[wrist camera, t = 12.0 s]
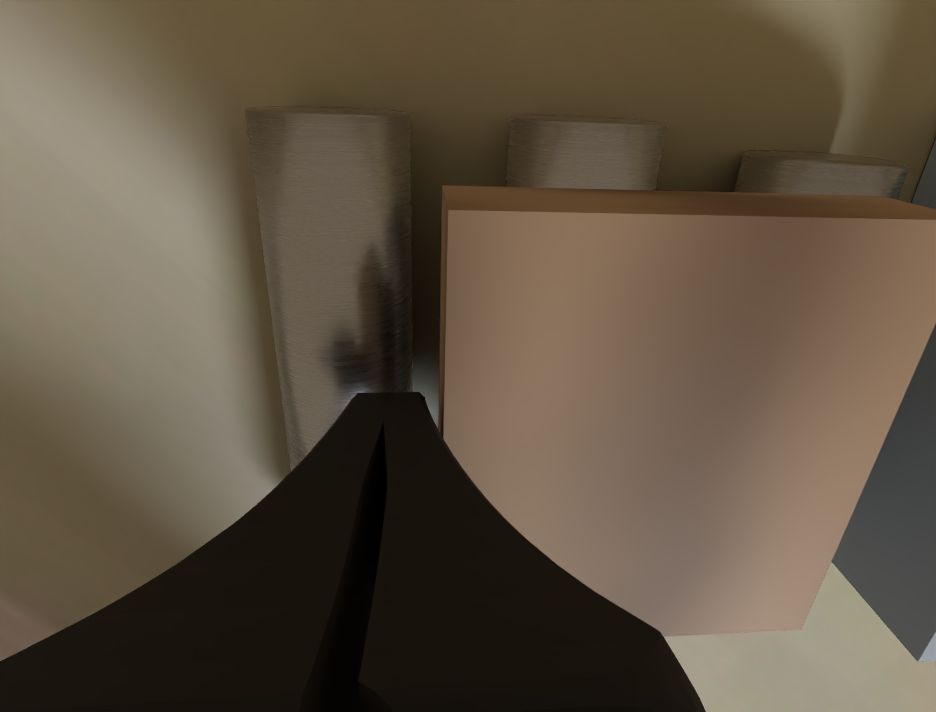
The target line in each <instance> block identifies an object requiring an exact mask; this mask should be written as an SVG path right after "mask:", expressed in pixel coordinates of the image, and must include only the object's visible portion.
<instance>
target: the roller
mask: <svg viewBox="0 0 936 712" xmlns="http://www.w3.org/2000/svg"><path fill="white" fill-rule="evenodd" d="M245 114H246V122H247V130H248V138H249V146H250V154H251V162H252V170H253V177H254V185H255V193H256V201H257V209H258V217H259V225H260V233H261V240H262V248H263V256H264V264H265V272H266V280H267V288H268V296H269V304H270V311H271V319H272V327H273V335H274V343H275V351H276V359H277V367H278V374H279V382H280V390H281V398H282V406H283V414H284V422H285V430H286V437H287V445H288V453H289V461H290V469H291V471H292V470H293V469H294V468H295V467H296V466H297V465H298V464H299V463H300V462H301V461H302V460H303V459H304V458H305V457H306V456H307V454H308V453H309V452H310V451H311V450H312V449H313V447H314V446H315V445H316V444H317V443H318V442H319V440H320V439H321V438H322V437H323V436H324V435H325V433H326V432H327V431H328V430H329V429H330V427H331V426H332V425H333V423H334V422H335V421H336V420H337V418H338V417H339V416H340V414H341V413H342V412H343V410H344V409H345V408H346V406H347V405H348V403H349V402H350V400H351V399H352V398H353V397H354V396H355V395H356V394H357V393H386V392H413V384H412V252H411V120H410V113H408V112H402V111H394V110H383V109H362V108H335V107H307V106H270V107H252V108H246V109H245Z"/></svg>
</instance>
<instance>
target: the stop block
mask: <svg viewBox="0 0 936 712" xmlns="http://www.w3.org/2000/svg"><path fill="white" fill-rule="evenodd" d="M912 204H916V205H920V206H924V207H928V208H932V209H936V140H935V142H934V145H933V148H932V150H931V153H930V155H929V158H928V161H927V163H926V166H925V169H924V171H923V174H922V177H921V179H920V182H919V185H918V187H917V190H916V192H915V195H914V198H913V200H912ZM832 563H833V564H834V565H835V566H836V567H837V568H838V570H839V571H840V572H841V573H842V574H843V575H844V577H845V578H846V579H847V580H848V581H849V582H850V584H851V585H852V586H853V587H854V588H855V589H856V591H857V592H858V593H859V594H860V595H861V596H862V598H863V599H864V600H865V601H866V602H867V603H868V604H869V606H870V607H871V608H872V609H873V610H874V611H875V613H876V614H877V615H878V616H879V617H880V618H881V620H882V621H883V622H884V623H885V624H886V625H887V627H888V628H889V629H890V630H891V631H892V632H893V634H894V635H895V636H896V637H897V638H898V639H899V641H900V642H901V643H902V644H903V645H904V646H905V648H906V649H907V650H908V651H909V652H910V653H911V655H912V656H913V657H914V658H915V659H916V660H917V662H925V661H936V324H935V326H934V328H933V331H932V333H931V335H930V337H929V340H928V342H927V344H926V347H925V349H924V351H923V353H922V356H921V358H920V360H919V363H918V365H917V367H916V369H915V372H914V374H913V376H912V379H911V381H910V383H909V385H908V388H907V390H906V392H905V395H904V397H903V399H902V401H901V404H900V406H899V408H898V411H897V413H896V415H895V417H894V420H893V422H892V424H891V427H890V429H889V431H888V433H887V436H886V438H885V440H884V443H883V445H882V447H881V449H880V452H879V454H878V456H877V459H876V461H875V463H874V465H873V468H872V470H871V472H870V475H869V477H868V479H867V481H866V484H865V486H864V488H863V491H862V493H861V495H860V497H859V500H858V502H857V504H856V507H855V509H854V511H853V513H852V516H851V518H850V520H849V522H848V525H847V527H846V529H845V532H844V534H843V536H842V538H841V541H840V543H839V545H838V548H837V550H836V552H835V554H834V557H833V559H832Z"/></svg>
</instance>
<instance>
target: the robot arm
mask: <svg viewBox="0 0 936 712" xmlns="http://www.w3.org/2000/svg"><path fill="white" fill-rule="evenodd" d="M0 712H706V711H705V709H704V707H703V705H702V702H701V700H700V698H699V696H698V694H697V692H696V691H695V689H694V687H693V685H692V684H691V682H690V680H689V678H688V677H687V675H686V673H685V672H684V670H683V668H682V667H681V665H680V663H679V662H678V660H677V658H676V657H675V655H674V653H673V652H672V650H671V648H670V647H669V645H668V643H667V642H666V640H665V639H664V637H663V635H662V634H661V632H660V631H659V630H657V629H656V628H654V627H652V626H651V625H649V624H647V623H646V622H644V621H642V620H641V619H639V618H637V617H636V616H634V615H633V614H631V613H629V612H628V611H626V610H624V609H623V608H621V607H619V606H618V605H616V604H614V603H613V602H611V601H609V600H608V599H606V598H605V597H603V596H601V595H600V594H598V593H596V592H595V591H593V590H592V589H591V588H589V587H588V586H586V585H585V584H583V583H582V582H581V581H579V580H578V579H576V578H575V577H574V576H572V575H571V574H570V573H568V572H567V571H565V570H564V569H563V568H561V567H560V566H558V565H557V564H556V563H555V562H554V561H552V560H551V559H550V558H549V557H548V556H546V555H545V554H544V553H543V552H542V551H540V550H539V549H538V548H537V547H536V546H534V545H533V544H532V543H531V542H530V541H529V540H527V539H526V538H525V537H524V536H523V535H522V534H521V533H520V532H519V531H518V530H517V529H516V528H514V527H513V526H512V525H511V524H510V523H509V522H508V521H507V520H506V519H505V518H504V517H503V516H502V515H501V514H500V512H499V511H498V510H497V509H496V508H495V507H494V506H493V505H492V504H491V503H490V502H489V501H488V499H487V498H486V497H485V496H484V495H483V494H482V492H481V491H480V490H479V489H478V488H477V486H476V485H475V484H474V483H473V481H472V480H471V479H470V477H469V476H468V475H467V473H466V472H465V471H464V469H463V468H462V467H461V465H460V464H459V462H458V461H457V459H456V458H455V457H454V455H453V453H452V452H451V450H450V449H449V447H448V445H447V444H446V442H445V441H444V439H443V437H442V436H441V434H440V432H439V430H438V429H437V427H436V425H435V423H434V421H433V419H432V417H431V414H430V412H429V410H428V407H427V404H426V401H425V397H424V396H423V395H422V394H421V393H420V392H386V393H357V394H356V395H355V396H354V397H353V398H352V399H351V400H350V402H349V403H348V405H347V406H346V408H345V409H344V410H343V412H342V413H341V414H340V416H339V417H338V418H337V420H336V421H335V422H334V423H333V425H332V426H331V427H330V429H329V430H328V431H327V432H326V433H325V435H324V436H323V437H322V438H321V439H320V440H319V442H318V443H317V444H316V445H315V446H314V447H313V449H312V450H311V451H310V452H309V453H308V454H307V456H306V457H305V458H304V459H303V460H302V461H301V462H300V463H299V464H298V465H297V466H296V467H295V468H294V469H293V470H292V471H291V472H290V473H289V474H288V475H287V476H286V477H285V478H284V479H283V480H282V481H281V482H280V483H279V484H278V485H277V486H276V487H275V488H274V489H273V490H272V491H271V492H270V493H269V494H268V495H267V496H266V497H265V498H264V499H262V500H261V501H260V502H259V503H258V504H257V505H256V506H254V507H253V508H252V509H251V510H250V511H249V512H247V513H246V514H245V515H244V516H243V517H241V518H240V519H239V520H238V521H236V522H235V523H234V524H233V525H231V526H230V527H228V528H227V529H226V530H224V531H223V532H221V533H220V534H219V535H217V536H216V537H214V538H213V539H212V540H210V541H209V542H207V543H206V544H205V545H203V546H202V547H200V548H199V549H198V550H196V551H195V552H193V553H192V554H191V555H189V556H188V557H186V558H185V559H184V560H182V561H181V562H179V563H178V564H176V565H175V566H173V567H171V568H170V569H168V570H167V571H165V572H163V573H162V574H160V575H159V576H157V577H155V578H154V579H152V580H151V581H149V582H148V583H146V584H144V585H142V586H141V587H139V588H137V589H136V590H134V591H132V592H131V593H129V594H127V595H125V596H124V597H122V598H120V599H119V600H117V601H115V602H114V603H112V604H110V605H108V606H106V607H105V608H103V609H101V610H99V611H97V612H96V613H94V614H92V615H90V616H88V617H86V618H85V619H83V620H81V621H79V622H77V623H75V624H73V625H71V626H69V627H67V628H65V629H63V630H61V631H59V632H57V633H55V634H53V635H51V636H49V637H48V638H46V639H44V640H42V641H40V642H38V643H36V644H34V645H32V646H30V647H28V648H26V649H24V650H22V651H20V652H18V653H16V654H14V655H12V656H10V657H8V658H6V659H4V660H2V661H0Z"/></svg>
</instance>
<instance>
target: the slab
mask: <svg viewBox="0 0 936 712" xmlns="http://www.w3.org/2000/svg"><path fill="white" fill-rule="evenodd" d="M935 324H936V209H932V208H928V207H924V206H920V205H916V204H912V203H908V202H904V201H900V200H896V199H892V198H888V197H884V196H864V195H823V194H781V193H740V192H699V191H658V190H616V189H575V188H534V187H492V186H451V185H442V235H441V297H440V358H439V420H438V430H439V432H440V434H441V436H442V437H443V439H444V441H445V442H446V444H447V445H448V447H449V449H450V450H451V452H452V453H453V455H454V457H455V458H456V459H457V461H458V462H459V464H460V465H461V467H462V468H463V469H464V471H465V472H466V473H467V475H468V476H469V477H470V479H471V480H472V481H473V483H474V484H475V485H476V486H477V488H478V489H479V490H480V491H481V492H482V494H483V495H484V496H485V497H486V498H487V499H488V501H489V502H490V503H491V504H492V505H493V506H494V507H495V508H496V509H497V510H498V511H499V512H500V514H501V515H502V516H503V517H504V518H505V519H506V520H507V521H508V522H509V523H510V524H511V525H512V526H513V527H514V528H516V529H517V530H518V531H519V532H520V533H521V534H522V535H523V536H524V537H525V538H526V539H527V540H529V541H530V542H531V543H532V544H533V545H534V546H536V547H537V548H538V549H539V550H540V551H542V552H543V553H544V554H545V555H546V556H548V557H549V558H550V559H551V560H552V561H554V562H555V563H556V564H557V565H558V566H560V567H561V568H563V569H564V570H565V571H567V572H568V573H570V574H571V575H572V576H574V577H575V578H576V579H578V580H579V581H581V582H582V583H583V584H585V585H586V586H588V587H589V588H591V589H592V590H593V591H595V592H596V593H598V594H600V595H601V596H603V597H605V598H606V599H608V600H609V601H611V602H613V603H614V604H616V605H618V606H619V607H621V608H623V609H624V610H626V611H628V612H629V613H631V614H633V615H634V616H636V617H637V618H639V619H641V620H642V621H644V622H646V623H647V624H649V625H651V626H652V627H654V628H656V629H657V630H659V631H660V632H661V634H662V635H663V637H666V636H686V635H706V634H726V633H746V632H766V631H786V630H802V628H803V625H804V623H805V621H806V618H807V616H808V614H809V612H810V609H811V607H812V605H813V602H814V600H815V598H816V596H817V593H818V591H819V589H820V586H821V584H822V582H823V580H824V577H825V575H826V573H827V570H828V568H829V566H830V564H831V561H832V559H833V557H834V554H835V552H836V550H837V548H838V545H839V543H840V541H841V538H842V536H843V534H844V532H845V529H846V527H847V525H848V522H849V520H850V518H851V516H852V513H853V511H854V509H855V507H856V504H857V502H858V500H859V497H860V495H861V493H862V491H863V488H864V486H865V484H866V481H867V479H868V477H869V475H870V472H871V470H872V468H873V465H874V463H875V461H876V459H877V456H878V454H879V452H880V449H881V447H882V445H883V443H884V440H885V438H886V436H887V433H888V431H889V429H890V427H891V424H892V422H893V420H894V417H895V415H896V413H897V411H898V408H899V406H900V404H901V401H902V399H903V397H904V395H905V392H906V390H907V388H908V385H909V383H910V381H911V379H912V376H913V374H914V372H915V369H916V367H917V365H918V363H919V360H920V358H921V356H922V353H923V351H924V349H925V347H926V344H927V342H928V340H929V337H930V335H931V333H932V331H933V328H934V326H935Z"/></svg>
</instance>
